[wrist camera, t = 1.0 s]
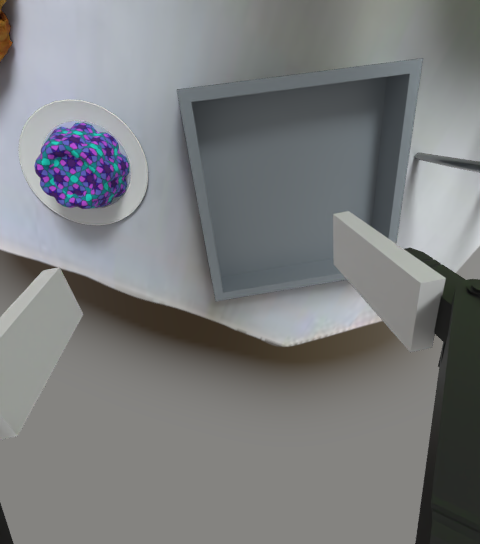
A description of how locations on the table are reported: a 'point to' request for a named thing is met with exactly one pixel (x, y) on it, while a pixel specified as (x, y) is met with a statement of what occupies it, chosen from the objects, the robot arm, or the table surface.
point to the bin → (296, 169)
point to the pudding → (82, 162)
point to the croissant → (4, 32)
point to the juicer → (450, 161)
